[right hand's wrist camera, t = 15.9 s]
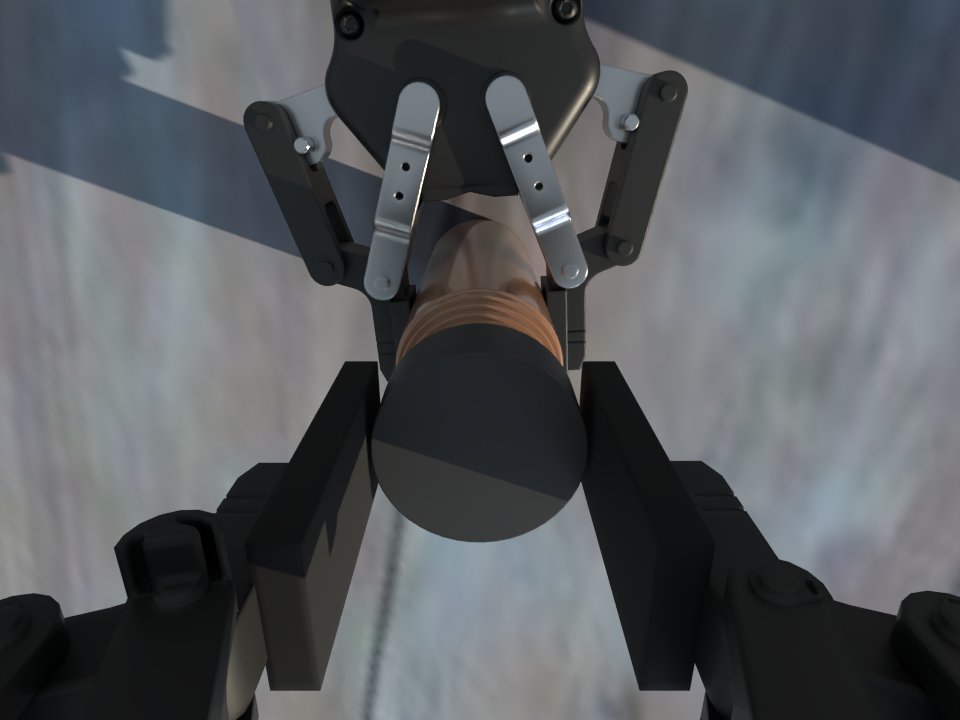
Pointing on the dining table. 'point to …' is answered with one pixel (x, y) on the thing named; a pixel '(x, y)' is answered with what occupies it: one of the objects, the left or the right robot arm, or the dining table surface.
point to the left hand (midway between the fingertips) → (483, 380)
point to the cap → (479, 434)
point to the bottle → (479, 287)
